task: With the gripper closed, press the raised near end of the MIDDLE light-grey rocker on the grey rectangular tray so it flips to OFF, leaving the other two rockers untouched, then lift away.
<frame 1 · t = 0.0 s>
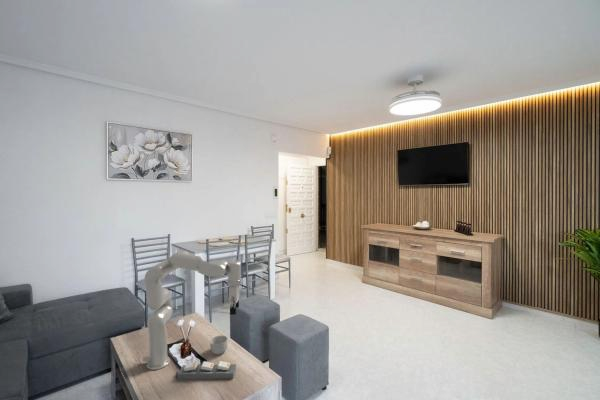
hand: (234, 310, 169), 31 cm above the table, fingers open, 9 cm apart
teacup: (219, 350, 183), on the table
grey rectangular tray: (207, 374, 159), on the table
rocker 2: (207, 365, 159), point 5 cm above the table, hinge at 12.0°
rocker 1: (191, 366, 158), point 5 cm above the table, hinge at -12.0°
rocker 3: (224, 365, 159), point 5 cm above the table, hinge at 12.0°
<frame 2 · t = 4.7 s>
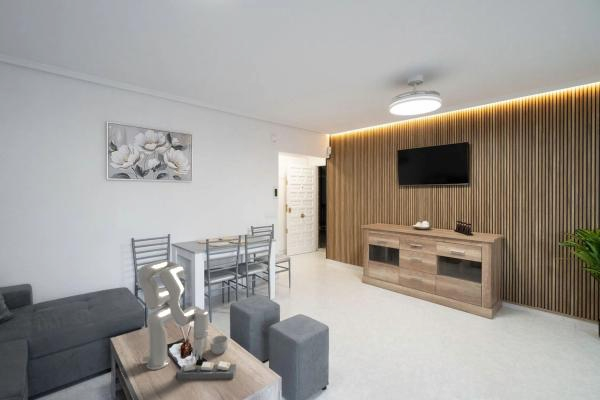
hand: (199, 364, 159), 6 cm above the table, fingers closed
rocker 2: (207, 365, 159), point 5 cm above the table, hinge at 6.4°, touching gripper
everything else where it was.
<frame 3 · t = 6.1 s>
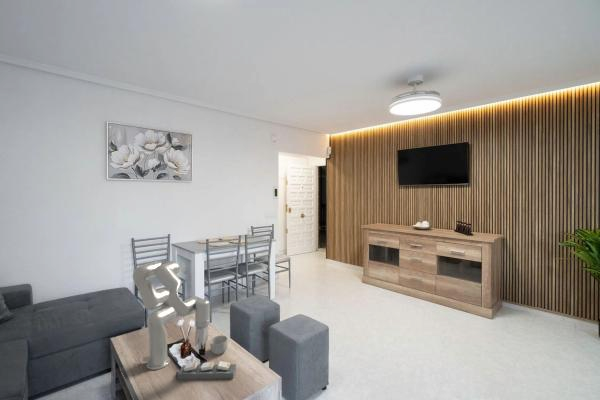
hand: (202, 354, 159), 11 cm above the table, fingers closed
rocker 2: (207, 365, 159), point 5 cm above the table, hinge at -8.5°
rocker 1: (191, 366, 158), point 5 cm above the table, hinge at -14.2°, touching grey rectangular tray
everything else where it was.
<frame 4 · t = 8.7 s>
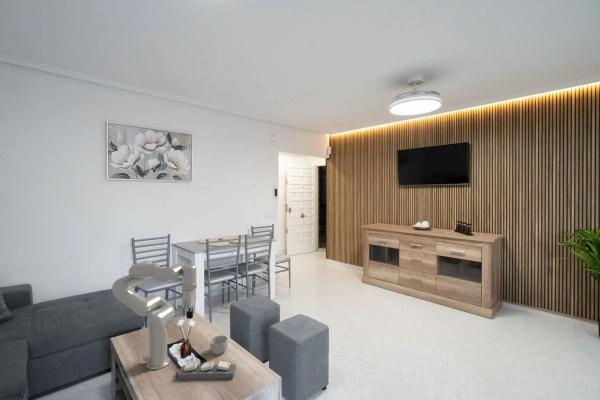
hand: (189, 317, 164), 29 cm above the table, fingers closed
rocker 2: (207, 365, 159), point 5 cm above the table, hinge at -13.8°, touching grey rectangular tray
rocker 1: (191, 366, 158), point 5 cm above the table, hinge at -13.1°
everything else where it was.
at the end: rocker 2 at -14° (first picture: +12°); rocker 1 at -13° (first picture: -12°); rocker 3 at +12° (first picture: +12°) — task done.
